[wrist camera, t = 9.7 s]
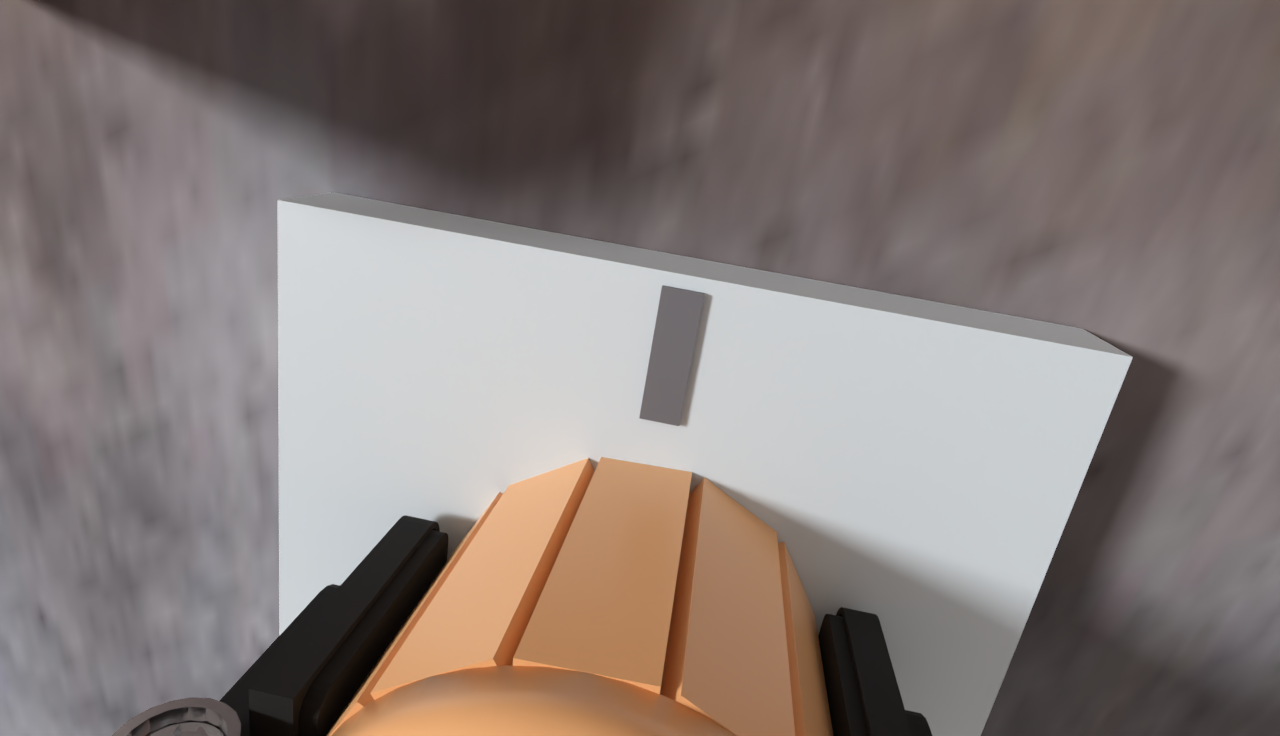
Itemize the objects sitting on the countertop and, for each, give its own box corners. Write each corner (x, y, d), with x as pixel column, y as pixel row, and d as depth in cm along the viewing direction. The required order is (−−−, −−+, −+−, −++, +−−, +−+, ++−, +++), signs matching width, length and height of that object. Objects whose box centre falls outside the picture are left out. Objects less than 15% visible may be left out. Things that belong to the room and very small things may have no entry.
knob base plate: (1082, 328, 11) (1390, 501, 6) (874, 884, 15) (948, 1288, 10) (332, 191, 12) (15, 236, 7) (321, 750, 16) (115, 1054, 11)
